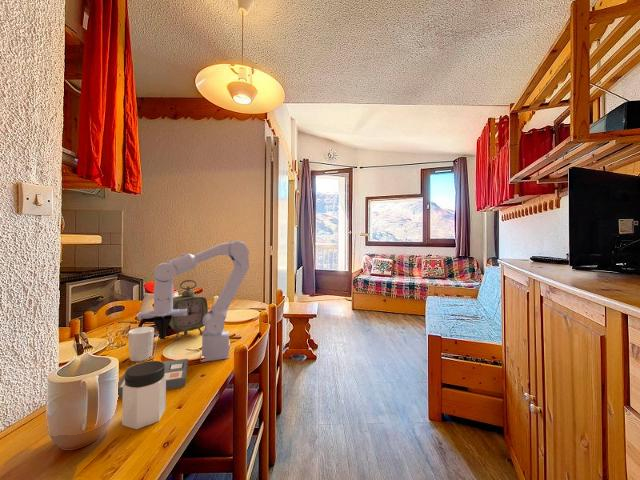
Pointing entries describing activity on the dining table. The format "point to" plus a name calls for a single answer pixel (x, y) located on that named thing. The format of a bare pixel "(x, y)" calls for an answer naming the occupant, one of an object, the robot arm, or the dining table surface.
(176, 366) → the button
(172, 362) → the button board
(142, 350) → the white cup
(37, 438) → the dining table surface
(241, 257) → the robot arm
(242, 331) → the dining table surface
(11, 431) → the dining table surface
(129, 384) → the jar
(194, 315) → the tabletop clock
